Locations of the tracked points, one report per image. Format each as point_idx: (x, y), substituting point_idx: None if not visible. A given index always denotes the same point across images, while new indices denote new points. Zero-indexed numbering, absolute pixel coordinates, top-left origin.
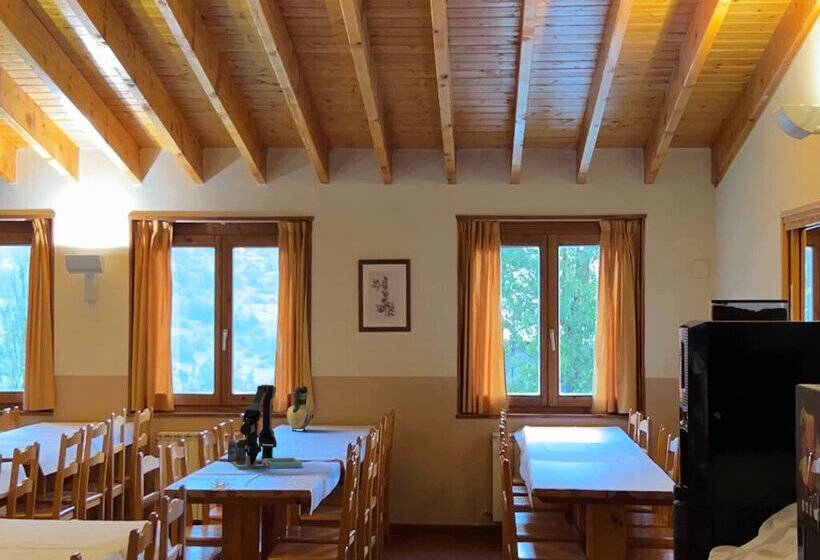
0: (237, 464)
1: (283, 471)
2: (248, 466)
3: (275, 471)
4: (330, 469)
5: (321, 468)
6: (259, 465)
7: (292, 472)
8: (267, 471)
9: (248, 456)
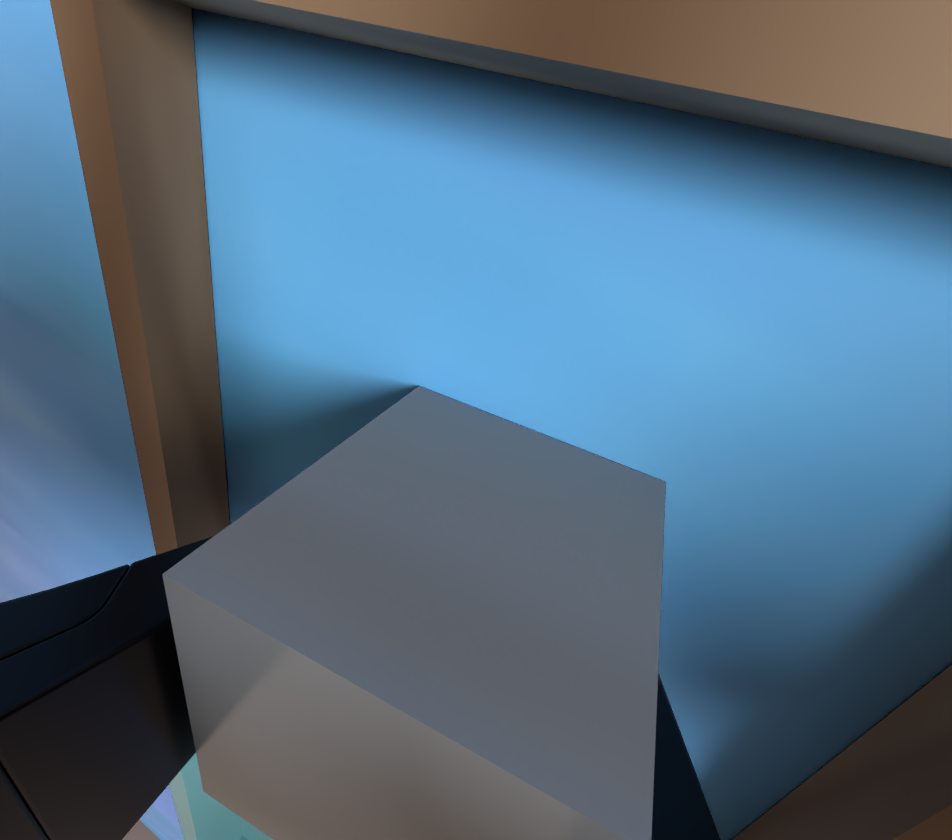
0: (443, 17)
1: (41, 572)
2: (115, 277)
3: (30, 511)
4: (145, 824)
5: (182, 834)
6: (175, 532)
7: (7, 590)
8: (15, 433)
9: (387, 769)
